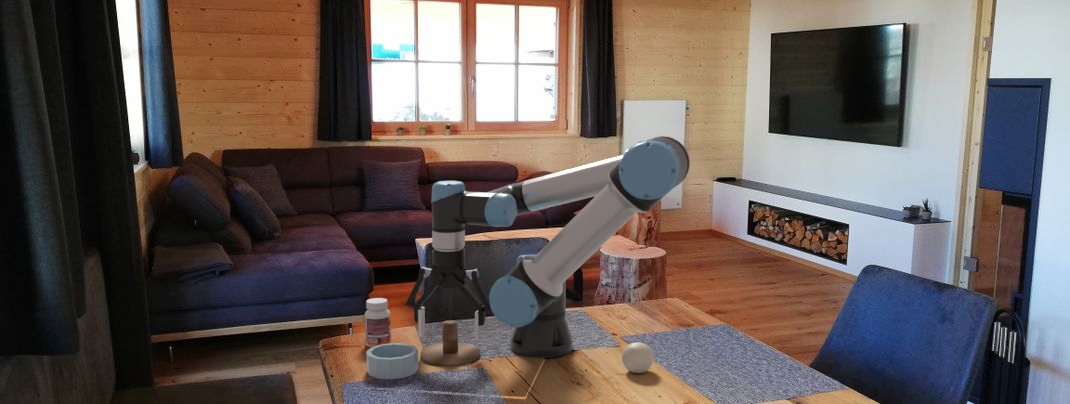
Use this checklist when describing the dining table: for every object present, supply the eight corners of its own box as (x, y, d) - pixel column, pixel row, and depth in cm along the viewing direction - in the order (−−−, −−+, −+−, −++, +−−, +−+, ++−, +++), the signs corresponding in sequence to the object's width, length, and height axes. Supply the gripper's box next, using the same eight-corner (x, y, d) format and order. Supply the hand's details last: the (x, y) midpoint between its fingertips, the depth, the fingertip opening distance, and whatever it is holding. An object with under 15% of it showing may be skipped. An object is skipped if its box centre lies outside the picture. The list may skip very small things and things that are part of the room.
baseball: (659, 370, 193) (660, 342, 192) (641, 379, 187) (642, 350, 186) (634, 364, 197) (635, 336, 196) (616, 372, 191) (616, 343, 190)
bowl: (423, 365, 196) (423, 344, 195) (408, 382, 185) (408, 360, 184) (378, 362, 198) (377, 342, 197) (360, 379, 187) (359, 357, 186)
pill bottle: (395, 346, 210) (394, 301, 208) (371, 350, 207) (370, 305, 205) (385, 339, 215) (383, 295, 213) (361, 344, 212) (360, 299, 210)
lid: (486, 347, 207) (486, 315, 206) (472, 367, 193) (471, 333, 192) (430, 344, 209) (429, 313, 208) (412, 363, 196) (411, 329, 195)
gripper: (505, 247, 199) (505, 335, 202) (402, 242, 203) (403, 329, 207) (498, 253, 192) (498, 345, 195) (391, 249, 196) (393, 338, 199)
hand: (449, 337), depth 201 cm, fingers open, 13 cm apart
